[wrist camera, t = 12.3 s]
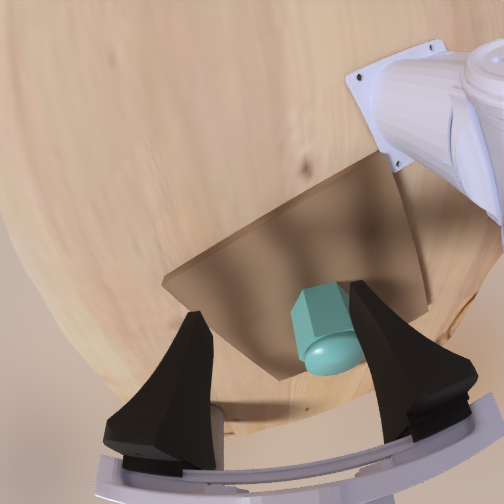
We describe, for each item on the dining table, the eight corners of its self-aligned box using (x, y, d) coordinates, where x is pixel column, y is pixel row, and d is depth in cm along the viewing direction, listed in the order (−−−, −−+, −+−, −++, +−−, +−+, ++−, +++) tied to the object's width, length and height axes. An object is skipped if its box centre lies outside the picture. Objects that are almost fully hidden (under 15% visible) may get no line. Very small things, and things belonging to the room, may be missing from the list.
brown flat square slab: (377, 150, 18) (385, 155, 17) (424, 304, 28) (428, 311, 27) (164, 276, 24) (161, 285, 23) (278, 373, 34) (279, 381, 33)
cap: (326, 272, 22) (346, 328, 18) (358, 304, 25) (378, 355, 20) (280, 304, 24) (289, 361, 19) (316, 331, 27) (329, 382, 22)
